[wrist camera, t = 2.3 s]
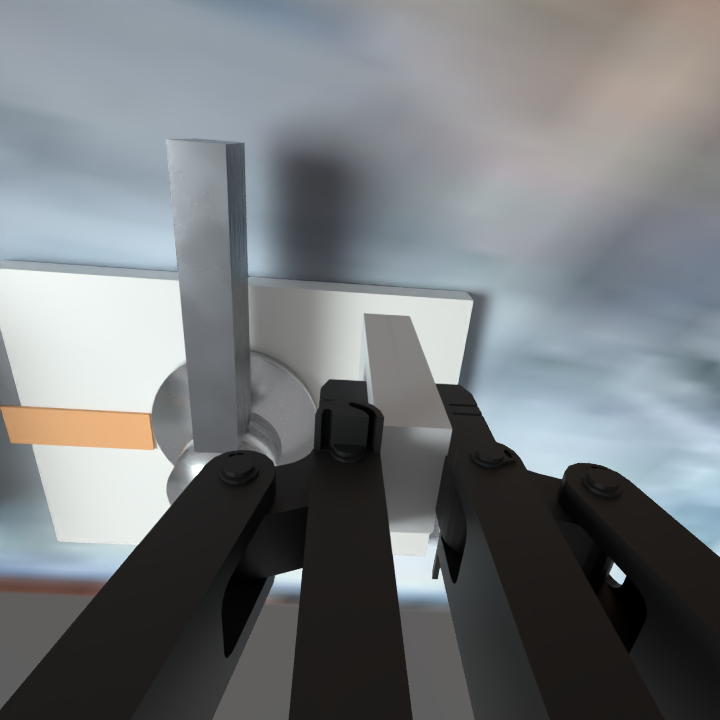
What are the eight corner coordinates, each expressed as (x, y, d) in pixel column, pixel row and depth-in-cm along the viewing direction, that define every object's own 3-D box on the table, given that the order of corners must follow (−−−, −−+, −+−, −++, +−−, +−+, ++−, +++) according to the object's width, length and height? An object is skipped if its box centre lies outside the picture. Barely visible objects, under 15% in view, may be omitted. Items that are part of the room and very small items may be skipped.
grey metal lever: (316, 487, 29) (310, 548, 24) (165, 480, 28) (132, 541, 24) (332, 149, 21) (327, 152, 16) (121, 131, 20) (59, 130, 16)
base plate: (466, 291, 25) (474, 301, 24) (422, 538, 33) (425, 558, 32) (-16, 258, 24) (-41, 266, 23) (54, 523, 32) (40, 543, 30)
